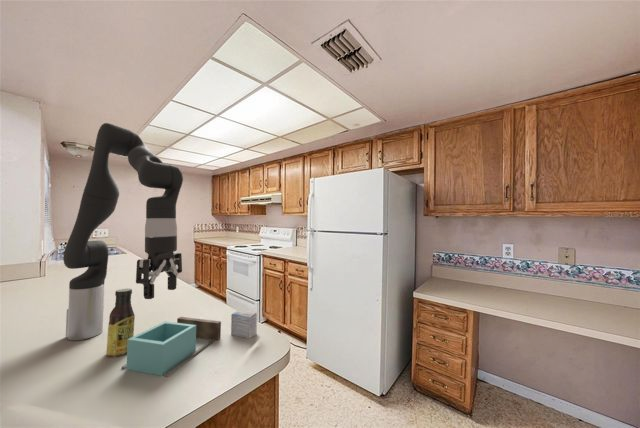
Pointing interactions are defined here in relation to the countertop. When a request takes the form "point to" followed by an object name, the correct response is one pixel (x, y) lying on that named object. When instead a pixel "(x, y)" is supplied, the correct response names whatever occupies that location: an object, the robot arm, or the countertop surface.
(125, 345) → the sauce bottle
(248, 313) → the medicine box
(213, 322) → the track board
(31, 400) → the countertop surface
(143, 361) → the holder
